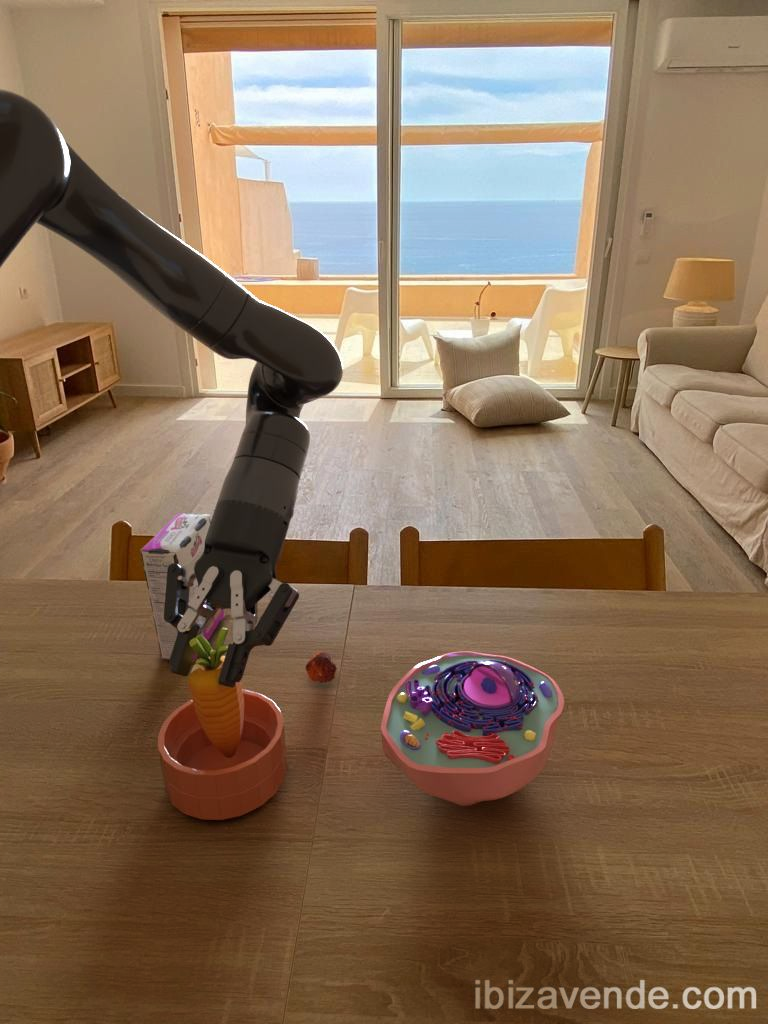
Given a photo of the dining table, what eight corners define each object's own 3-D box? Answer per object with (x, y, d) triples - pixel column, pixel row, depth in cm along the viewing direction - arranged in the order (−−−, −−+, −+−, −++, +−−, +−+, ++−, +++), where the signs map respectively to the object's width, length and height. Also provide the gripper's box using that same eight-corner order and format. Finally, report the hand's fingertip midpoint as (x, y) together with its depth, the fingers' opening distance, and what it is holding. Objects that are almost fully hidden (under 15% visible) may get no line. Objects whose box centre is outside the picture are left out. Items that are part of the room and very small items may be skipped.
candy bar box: (192, 614, 101) (177, 511, 94) (225, 617, 100) (212, 513, 93) (157, 660, 90) (138, 548, 84) (194, 663, 90) (177, 551, 83)
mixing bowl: (149, 824, 67) (139, 773, 64) (187, 735, 78) (179, 688, 75) (275, 827, 66) (270, 776, 63) (295, 737, 77) (291, 690, 75)
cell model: (343, 769, 73) (339, 681, 68) (475, 689, 84) (479, 609, 80) (459, 878, 61) (464, 781, 56) (593, 767, 73) (607, 679, 68)
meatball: (303, 686, 85) (301, 659, 84) (318, 669, 88) (316, 643, 87) (328, 693, 84) (327, 666, 82) (343, 676, 87) (341, 650, 85)
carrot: (250, 734, 74) (228, 613, 68) (259, 765, 69) (236, 639, 63) (203, 748, 72) (175, 625, 66) (208, 781, 68) (180, 653, 62)
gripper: (174, 488, 69) (115, 658, 64) (305, 506, 64) (253, 690, 59) (210, 515, 76) (158, 671, 70) (330, 533, 71) (286, 701, 66)
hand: (202, 679), depth 65 cm, fingers closed on carrot, 4 cm apart
